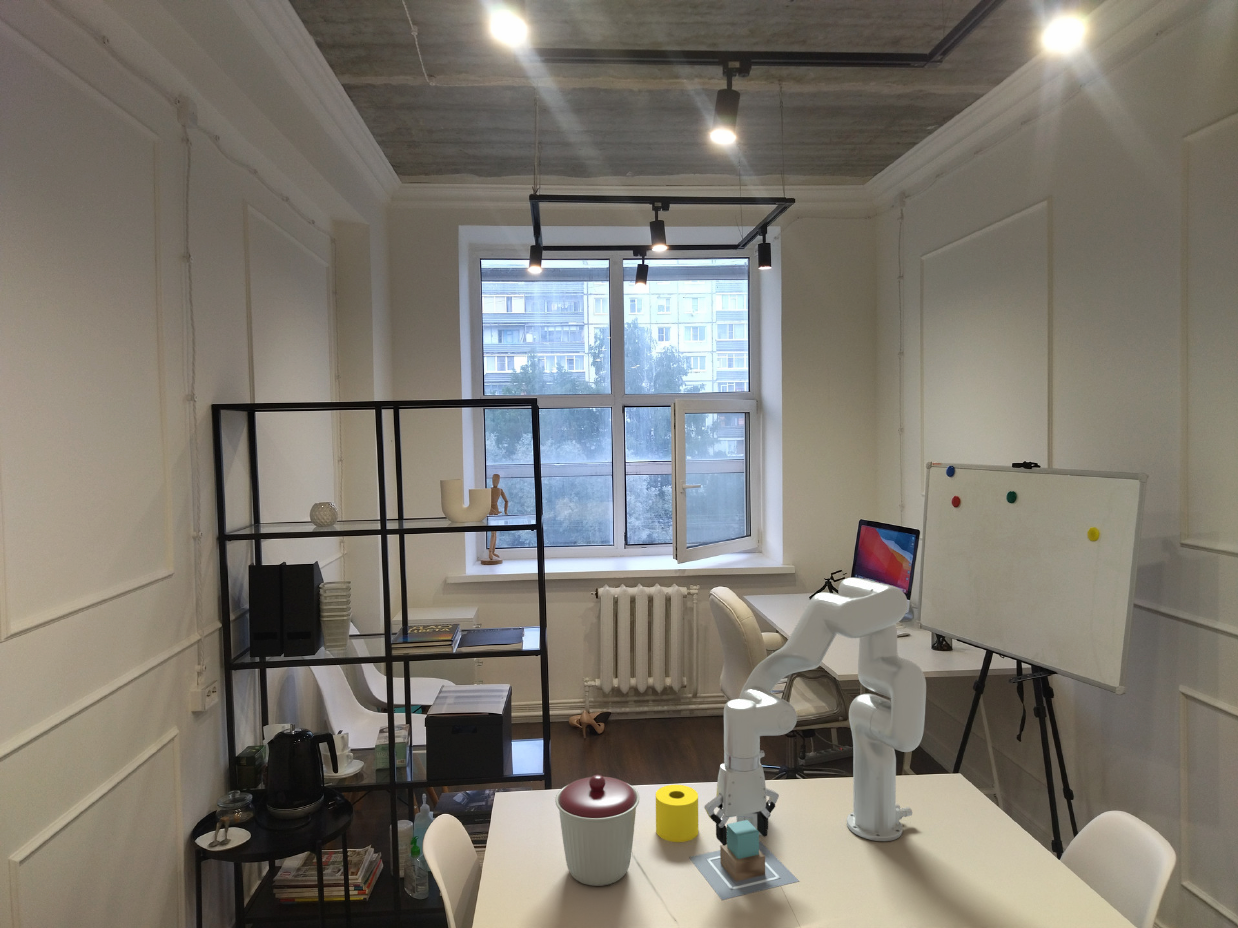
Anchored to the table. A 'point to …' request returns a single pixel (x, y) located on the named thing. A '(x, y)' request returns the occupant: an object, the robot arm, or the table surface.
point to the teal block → (742, 839)
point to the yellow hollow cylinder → (677, 813)
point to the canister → (597, 828)
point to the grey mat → (730, 888)
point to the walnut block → (742, 864)
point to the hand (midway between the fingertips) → (742, 837)
